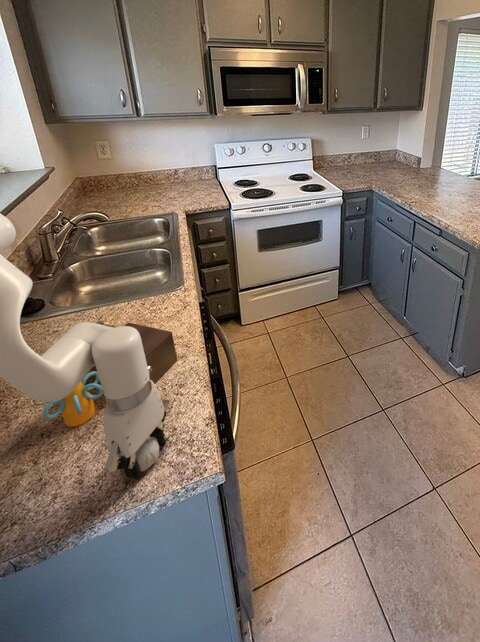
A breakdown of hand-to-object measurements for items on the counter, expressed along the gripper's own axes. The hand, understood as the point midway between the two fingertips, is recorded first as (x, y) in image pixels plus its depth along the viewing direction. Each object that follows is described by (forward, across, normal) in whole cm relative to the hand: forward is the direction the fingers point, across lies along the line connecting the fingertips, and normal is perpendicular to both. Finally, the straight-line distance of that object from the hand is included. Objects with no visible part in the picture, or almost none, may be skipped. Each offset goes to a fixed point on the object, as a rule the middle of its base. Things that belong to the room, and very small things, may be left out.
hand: (146, 458), depth 72 cm
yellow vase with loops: (+1, -4, -23) cm, 23 cm away
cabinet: (+1, -19, -20) cm, 28 cm away
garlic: (+1, 0, 0) cm, 1 cm away
